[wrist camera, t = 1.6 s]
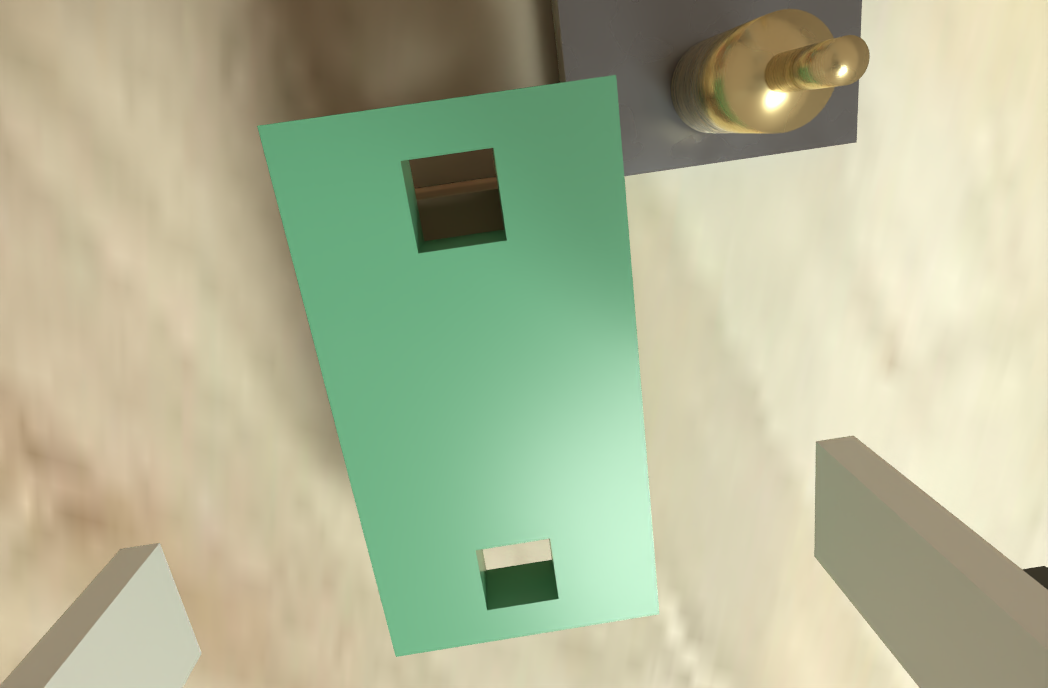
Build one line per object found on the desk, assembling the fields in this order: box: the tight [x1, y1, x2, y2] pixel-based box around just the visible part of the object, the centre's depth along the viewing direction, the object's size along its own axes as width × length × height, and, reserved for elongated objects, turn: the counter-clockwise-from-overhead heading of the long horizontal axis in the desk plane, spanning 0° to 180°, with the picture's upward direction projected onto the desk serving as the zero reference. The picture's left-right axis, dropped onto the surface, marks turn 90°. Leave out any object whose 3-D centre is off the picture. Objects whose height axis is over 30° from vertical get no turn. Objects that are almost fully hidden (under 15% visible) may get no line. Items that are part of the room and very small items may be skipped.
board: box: [257, 75, 659, 657], centre depth 19 cm, size 17×9×2 cm, turn 8°
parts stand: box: [415, 177, 504, 241], centre depth 23 cm, size 12×5×5 cm, turn 8°
